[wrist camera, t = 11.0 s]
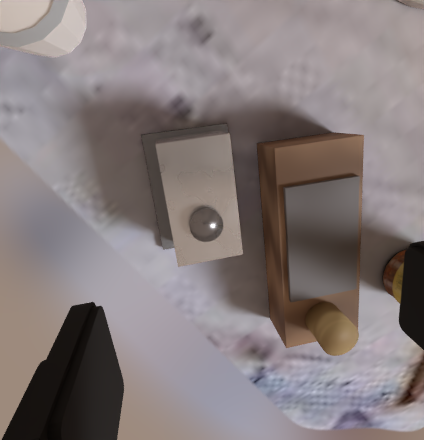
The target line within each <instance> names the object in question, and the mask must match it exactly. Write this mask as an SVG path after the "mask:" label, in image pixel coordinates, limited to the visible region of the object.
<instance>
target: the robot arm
mask: <svg viewBox="0 0 424 440" xmlns="http://www.w3.org/2000/svg"><path fill="white" fill-rule="evenodd" d="M398 1H400V2H402V3H404V4H406V5H408V6H410V7H415V8H419V9H424V0H398ZM399 324H400V327H401V329H402V330H403V331H404V332H405V333H406V334H407V335H408V336H409V337H410V338H411V339H412V340H413V341H414V342H416V343H417V344H418V345H419V346H420V347H421V348H422V349H423V350H424V241H421V242H415V243H412V244H410V246H409V248H408V249H407V250H406V251H405V256H404V268H403V279H402V290H401V301H400V312H399ZM123 393H124V383H123V378H122V374H121V370H120V367H119V363H118V359H117V356H116V352H115V349H114V345H113V342H112V338H111V335H110V331H109V328H108V324H107V320H106V317H105V313H104V310H103V307H102V306H97V307H96V305H95V303H94V302H91V303H85V304H80V305H75V306H72V307H71V308H70V311H69V313H68V315H67V317H66V319H65V321H64V323H63V325H62V327H61V329H60V332H59V334H58V336H57V338H56V340H55V342H54V344H53V347H52V348H51V351H50V353H49V355H48V357H47V359H46V360H44V361H42V362H41V363H40V365H39V366H38V367H37V369H36V371H35V374H34V375H33V377H32V380H31V381H30V383H29V386H28V388H27V390H26V392H25V394H24V396H23V398H22V400H21V402H20V404H19V406H18V408H17V410H16V412H15V414H14V416H13V418H12V420H11V422H10V424H9V426H8V428H7V430H6V432H5V434H4V436H3V438H2V440H117V435H118V428H119V421H120V414H121V407H122V400H123Z"/></svg>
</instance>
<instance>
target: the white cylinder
mask: <svg viewBox="0 0 424 440" xmlns="http://www.w3.org/2000/svg"><path fill="white" fill-rule="evenodd" d="M85 30H86V9H85V6H84V4H83V1H82V0H0V46H1V47H6V48H10V49H14V50H18V51H22V52H26V53H30V54H34V55H39V56H46V57H55V58H56V57H59V56H62V55H65V54H68V53H70V52H71V51H72V50H74V49H75V48H76V47H77V46H78V45H79V44H80V43H81V41H82V38H83V35H84V33H85Z"/></svg>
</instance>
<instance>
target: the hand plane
mask: <svg viewBox="0 0 424 440" xmlns="http://www.w3.org/2000/svg"><path fill="white" fill-rule="evenodd" d="M363 145H364V135H357V134H345V133H326V134H319V135H312V136H306V137H299V138H292V139H285V140H278V141H271V142H264V143H257V153H258V166H259V179H260V192H261V205H262V218H263V231H264V244H265V258H266V271H267V284H268V297H269V310H270V319H271V321H272V323H273V325H274V326H275V328H276V330H277V332H278V334H279V335H280V337H281V339H282V341H283V343H284V345H285V346H286V348H289V347H293V346H298V345H302V344H307V343H311V342H316V341H318V343H319V344H320V346H321V347H322V349H323V350H324V351H325V352H326V353H327V354H329V355H333V356H337V355H342V354H345V353H347V352H348V351H350V350H351V349H352V348H353V347H354V346H355V344H356V343H357V340H358V336H359V334H358V309H359V276H360V244H361V211H362V178H363Z"/></svg>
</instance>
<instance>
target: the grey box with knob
mask: <svg viewBox="0 0 424 440" xmlns="http://www.w3.org/2000/svg"><path fill="white" fill-rule="evenodd" d="M155 145H156V150H157V156H158V161H159V167H160V172H161V177H162V183H163V188H164V193H165V199H166V204H167V209H168V215H169V220H170V226H171V231H172V236H173V242H174V247H175V252H176V258H177V263H178V267H180V266H185V265H190V264H196V263H201V262H206V261H211V260H216V259H222V258H227V257H232V256H237V255H243V249H242V240H241V231H240V222H239V213H238V204H237V194H236V185H235V176H234V167H233V158H232V149H231V140H230V133H226V132H221V131H211V132H204V133H197V134H191V135H184V136H177V137H170V138H163V139H157V140H156V144H155Z"/></svg>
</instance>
